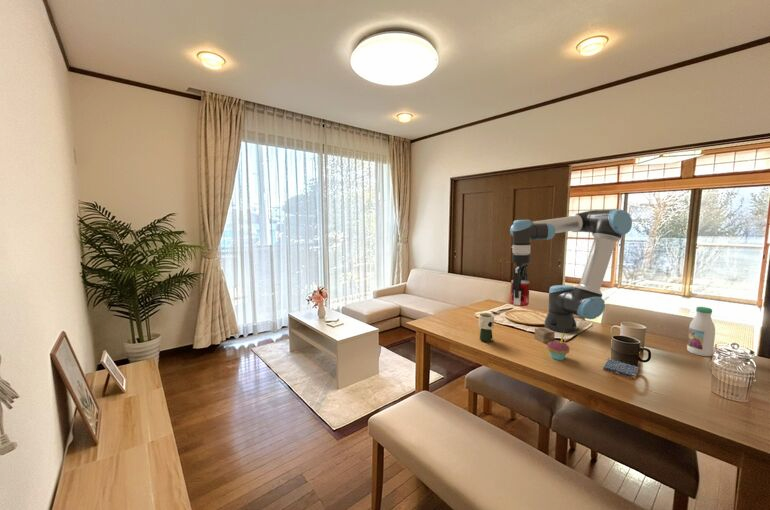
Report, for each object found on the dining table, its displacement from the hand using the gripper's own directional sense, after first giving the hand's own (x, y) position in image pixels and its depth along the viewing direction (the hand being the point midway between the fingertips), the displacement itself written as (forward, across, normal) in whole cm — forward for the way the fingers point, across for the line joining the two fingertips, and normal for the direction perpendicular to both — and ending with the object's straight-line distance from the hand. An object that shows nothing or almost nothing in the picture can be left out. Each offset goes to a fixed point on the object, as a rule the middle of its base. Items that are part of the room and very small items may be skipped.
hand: (519, 302), depth 139 cm
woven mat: (+22, 0, +38) cm, 44 cm away
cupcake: (+21, +3, +17) cm, 27 cm away
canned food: (+1, 0, 0) cm, 1 cm away
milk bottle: (+22, -37, +64) cm, 77 cm away
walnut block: (+21, -14, +8) cm, 27 cm away
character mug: (+21, +3, -15) cm, 26 cm away
